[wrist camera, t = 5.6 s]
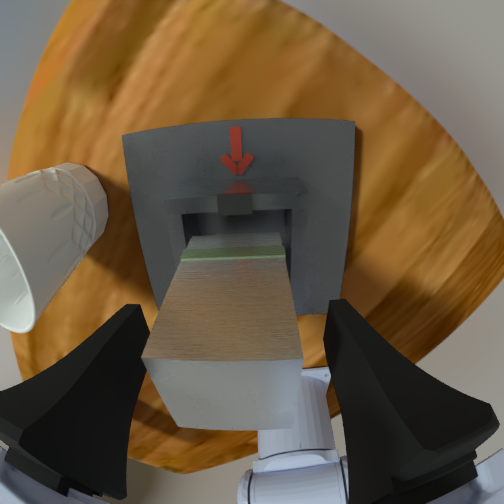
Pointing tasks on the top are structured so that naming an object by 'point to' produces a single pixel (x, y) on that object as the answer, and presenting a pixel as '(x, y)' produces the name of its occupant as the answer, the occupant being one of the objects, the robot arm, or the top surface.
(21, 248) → the white cup
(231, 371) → the steel column
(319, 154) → the gray frame
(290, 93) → the top surface
